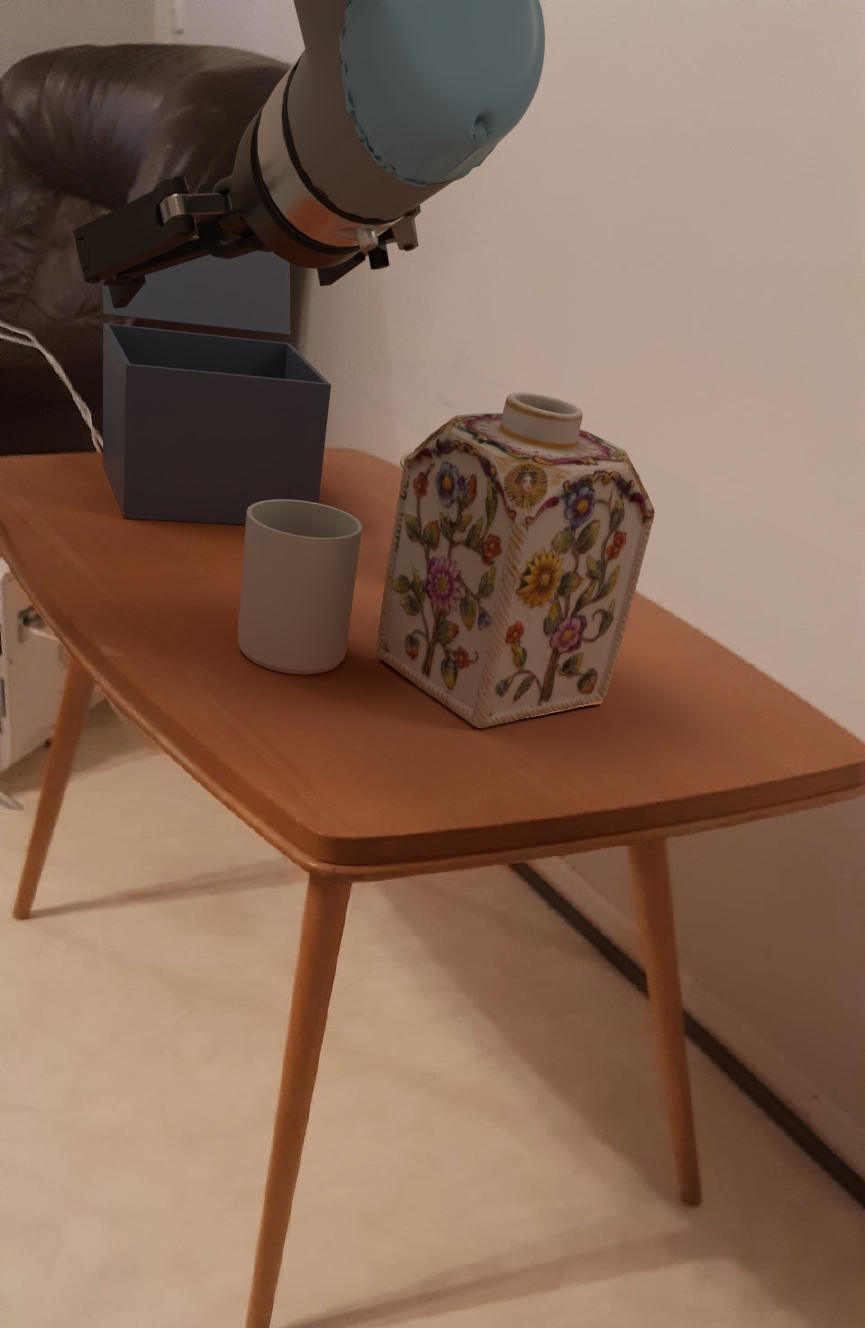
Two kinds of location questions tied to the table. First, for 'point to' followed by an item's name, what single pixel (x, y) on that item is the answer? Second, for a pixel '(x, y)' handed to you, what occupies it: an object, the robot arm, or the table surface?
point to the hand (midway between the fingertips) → (220, 273)
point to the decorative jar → (513, 562)
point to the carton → (208, 424)
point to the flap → (216, 294)
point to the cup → (297, 585)
